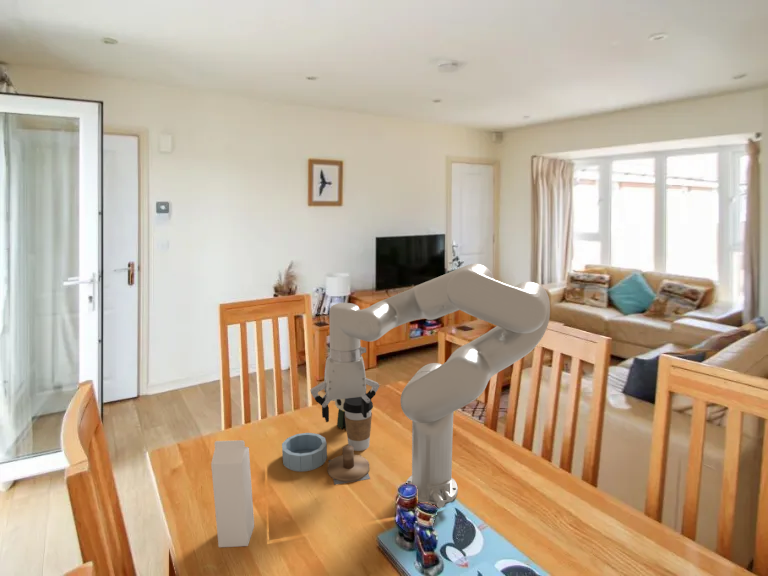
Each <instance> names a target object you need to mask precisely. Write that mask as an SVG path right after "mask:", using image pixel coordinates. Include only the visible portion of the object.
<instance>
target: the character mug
mask: <svg viewBox="0 0 768 576" xmlns="http://www.w3.org/2000/svg"><path fill="white" fill-rule="evenodd" d="M330 402H334V405H335V407H336V408H337V409H338V412H337V419H336V420H337V422H336V426H337V427H338V428H339V429H343V427H344V428H345V430H346V423H345V410H344V409H343V404H344V402H345V399H336V400H331V401H330Z"/></svg>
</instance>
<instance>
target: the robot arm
mask: <svg viewBox="0 0 768 576" xmlns="http://www.w3.org/2000/svg"><path fill="white" fill-rule="evenodd" d="M458 311H461V312H463V313H465V314H467V315H470V316H472V317H474V318H476V319H479V320H482V321H484V322H487V323H489V324H491V325H494V327H493V328H492V329H490V330H488V331H487V332H486V333H483V334H482V335H480V336H479V337H476V338H475V339H473V340H471V341H469V342H468V343H466V344H464V345H461V346H460V347H458V348H456V349H455V350H454V351H453V352H452V353H451V354H450V356H449V357H448V359H447V360H446V362H444V363H443V364H441V363H440V362H439V363H438V362H431V363H428V364H426V365H424V366H422V367H420V369H419V370H417V372H416V373H415V374H414V375H413V376H412V378H411V379H409V381H408V382H407V384H406V385H405V386H404V388H403V390H402V392H401V395H400V407H401V410H402V412H403V414H404V416H406V417H407V418H408V420H410V421H412V422H411V423H412V425H411V427H412V428H411V429H412V431H411V433H412V434H411V441H412V442H411V475H410V476H408V478H407V479H406V481H405V484H406V483H412V484H414V485H416V486H417V489H418V501H417V502H418V503H420V502H428V503H431V504H434V505H433V506H436V507H437V508H439V509H442V508H443V507H444V506H445V505H446V504H447V503H449V502H452V501H454V500H455V499H456V497H457V496H458V491H459V487H458V484H457V482H456V480H455V479H454V478H453V477H452V476H453V475H452V470H453V467H452V466H453V433H454V431H453V430H454V413H455V412H456V411H458V410H459V409H461V408H463V407H465V406H467V405H469V404H470V403H472V402H474V401H475V400H477V398H479V397H480V396H481V395H482V394H483V392H485V390H486V388H487V386H488V383H489V381H490V380H491V378H492V377H493V376H494V375H497V374H498V373H499V372H501V371H503V370H505V369H507V368H508V367H510V366H512V365H513V364H515V363H516V362H518V361H520V360H521V359H523V358H524V357H526V356H527V355H528V354H530V353H531V352H532V351H533V350H534V349H535V348H536V347H537V345H539V343H540V342H541V340H542V338H543V337H544V335H545V333H546V331H547V329H548V326H549V322H550V316H551V302H550V297H549V295H548V292H547V291H546V289H545V288H544V287H543V286H542V285H541V284H539V283H537V282H534V281H533V282H532V281H524V282H521V283H518V284H516V285H515V286H513V285H510V284H507V283H504V282H501V281H499V280H497V279H495V278H494V275H493V273H492V272H491V270H490V269H489V268H488V267H487V266H485V265H483V264H480V263H471V264H468V265H464V266H461V267H459V268H457V269H455V270H452V271H450V272H447V273H445V274H443V275H440V276H438V277H435V278H432V279H429V280H427V281H425V282H422V283H420V284H417V285H415V286H413V287H412V288H410V289H408V290H405V291H403V292H399V293H397V294H395V295H392V296H390V297H387V298H385V299H382V300H380V301H378V302H375V303H374V304H372V305H369V306H368V307H365V308H363V309H360V307H359V306H358V304H355V303H352V302H351V303H350V302H339V303H335V304H333V305H331V307H330V309H329V315H328V317H329V320H328V321H329V356H327V358H326V360H325V366H324V381H322V382H320V383H318V384H317V385H316V386H313V387H311V389H309V390H310V394H311V395H312V397H313V398H314V400H315V402H317V404H319V405H320V406H321V416H322V418H323V419H324V420H325V423H328V422H329V421H330V408H329V403H331V402H332V401H331V400H336V399H346V398H356V397H362V406H361V412H362V415H363V417H364V418H367V413H369V402H370V400H371V401H372V400H373V398H374V397H376V394H377V392H378V390H379V388H380V384H379V382H377V381H375V380H372V379H370V378H367V376H366V369H365V361H364V358H363V356H362V355H363V354H364V353H367V347H363V346H362V345H361V341H365V342H375V341H377V340H379V339H380V338H382V337H383V336H384V335H385V334H387V333H388V332H389V331H391V330H392V329H394V328H397V327H400V326H402V325H404V324H406V323H410V322H413V321H416V320H419V319H426V320H428V321H432V320H437V319H440V318H441V317H444V316H447V315H450V314H453V313H455V312H458ZM367 386H369V387H371V388H370V390H368V391H367ZM323 390H324V392H325V394H324V395H323V396H321V395H320V394H319V392H321V391H323ZM366 393H367V394H366Z"/></svg>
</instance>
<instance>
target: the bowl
mask: <svg viewBox="0 0 768 576" xmlns="http://www.w3.org/2000/svg"><path fill="white" fill-rule="evenodd" d="M281 448H282V449H281V450H282V453H281V454H282V462H283V463H282V465H283V466H284V467H285V469H286V468H287V469H288V470H290V471H294V472H308V471H313V470H315V469H318V468H320V467H322V465H324V464H325V463H326V462H327V458H328V446H327V440H326V437H325V436H323V435H321V434H319V433H314V432H303V433H296V434H294V435H291V436H289V437H287V438H286V439H285V440H284V441H283V442H282V443H281Z"/></svg>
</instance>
